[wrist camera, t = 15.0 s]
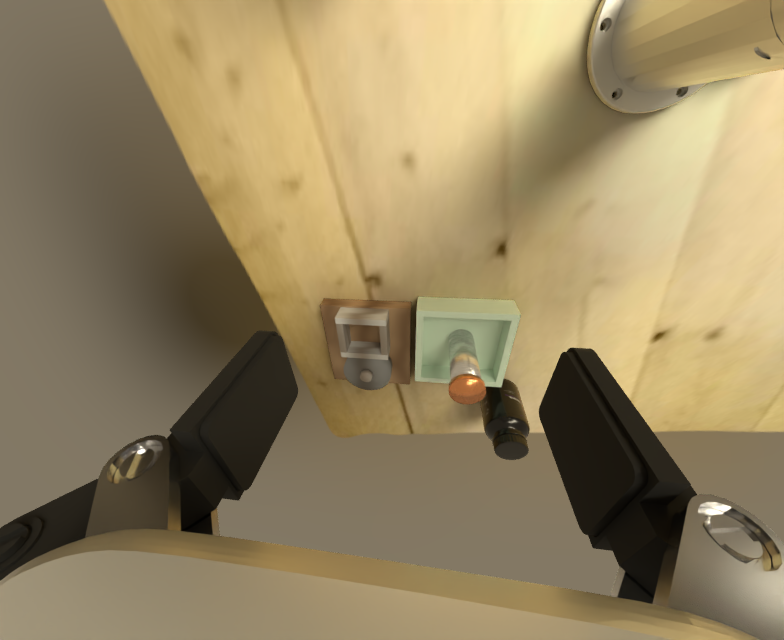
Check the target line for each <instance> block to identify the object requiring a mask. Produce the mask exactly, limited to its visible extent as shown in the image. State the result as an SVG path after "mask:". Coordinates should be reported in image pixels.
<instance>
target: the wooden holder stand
mask: <svg viewBox="0 0 784 640" xmlns="http://www.w3.org/2000/svg"><path fill="white" fill-rule="evenodd" d="M320 308H321V313H322V318H323V323H324V328H325V333H326V338H327V343H328V348H329V353H330V358H331V363H332V368H333V373H334V378H335V379H346V380H348V381H349V382H350V383H352V384H353V385H355V386H356V387H359V388H361V389H366V390H377V389H380V388H383V387H384V386H386V385H387V384H388V383H400V384H410V372H411V302H398V301H372V300H347V299H324V300H323V301H322V303H321V304H320Z"/></svg>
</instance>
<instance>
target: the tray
mask: <svg viewBox="0 0 784 640" xmlns="http://www.w3.org/2000/svg"><path fill="white" fill-rule="evenodd" d="M520 317H521V314H520V312H519V310H518V307H517V305H516V303H515V301H514V300H496V299H469V298H442V297H418V301H417V313H416V354H415V381H421V382H434V383H448V384H449V382H450V381H451V379H450V362H449V346H448V337H449V335H450V334H451V333H452V332H453V331H455V330H458V329H464V330H468V331H469V332H471V333H472V335H473V337H474V342H475V347H476V353H477V358H478V363H479V369H480V374H481V379H482V380H483V381H484V383H485V386H489V387H501V386H502V383H503V379H504V375H505V372H506V368H507V364H508V361H509V357H510V354H511V350H512V346H513V343H514V339H515V335H516V332H517V328H518V324H519V321H520Z"/></svg>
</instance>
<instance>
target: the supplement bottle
mask: <svg viewBox="0 0 784 640" xmlns="http://www.w3.org/2000/svg"><path fill="white" fill-rule="evenodd" d="M485 388H486V395H485V397H484V398H483V399H482V400H481V401H480V404H481V411H482V417H483V424H484V430H485V433H486V435H487V436H488V438H489V439H491V440H492V442H493V446H494V451H495V453H496V454H497V455H498V456H499V457H500V458H503V459H506V460H516V459H520V458H523V457H524V456H526V455H527V454H528V446H527V440H526V437H527V436H528V434H529V424H528V420H527V417H526V414H525V411H524V407H523V404H522V401H521V397H520V394H519V391H518V388H517V387H516V385H515V384H514V383H513V382H511V381H509V380H506V379H503V383H502V386H501V387H489V386H485Z"/></svg>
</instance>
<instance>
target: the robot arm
mask: <svg viewBox="0 0 784 640" xmlns="http://www.w3.org/2000/svg"><path fill="white" fill-rule="evenodd" d="M601 24H603V26H604V27H603V30H602V31H601V30H600V25H601ZM587 69H588V74H589V79H590V83H591V85H592V87H593V89H594V92H595V94H596V95H597V96H598V97H599V99H600V100H601V101H602V102H603V103H604V104H606V105H607V106H609V107H610V108H611V109H614V110H617V111H620V112H623V113H634V114H638V113H649V112H653V111H657V110H661V109H664V108H667V107H669V106H672V105H674V104H676V103H679V102H680V101H682V100H684V99H685V98H687V97H689V96H691V95H692V94H694V93H695V92H697V91H698V90H699V89H701V88H702V87H703V86H705V85H706V84H707V83H709V82H713V81H719V80H725V79H730V78H736V77H742V76H748V75H753V74H759V73H765V72H771V71H776V70H782V69H784V0H601V3H600V5H599V7H598V10H597V12H596V14H595V18H594V21H593V24H592V28H591V31H590V35H589V42H588V48H587ZM677 90H678V93H677ZM613 92H614V93H615V96H614V97H613V98H612V94H613ZM676 93H677V94H676ZM297 394H298V387H297V384H296V381H295V378H294V374H293V371H292V368H291V365H290V362H289V359H288V355H287V352H286V349H285V346H284V342H283V339H282V337H281V336H278V334H277V333H276V332H273V331H257V332H256V333H255V334H254V335H253V336H252V337H251V339H250V340H249V341H248V342H247V343H246V344H245V345H244V347H243V348H242V349H241V350H240V351H239V352H238V353H237V354H236V355H235V356H234V358H233V359H232V360H231V361H230V362H229V363H228V364H227V366H226V367H225V368H224V369H223V370H222V371H221V372H220V373H219V375H218V376H217V377H216V378H215V379H214V380H213V381H212V382H211V384H210V385H209V386H208V387H207V388H206V389H205V390H204V392H203V393H202V394H201V395H200V396H199V397H198V398H197V399H196V401H195V402H194V403H193V404H192V405H191V406H190V407H189V408H188V410H187V411H186V412H185V413H184V414H183V415H182V416H181V418H180V419H179V420H178V421H177V422H176V423H175V424H174V425H173V427H172V428H171V429H170V431H171V432H172V433H171V434H170V436H169V437H168V438H166V437H164V436H161V435H151V436H146V437H143V438H140V439H137V440H136V441H134V442H131V443H129V444H128V445H126V446H125V447H123V448H122V449H120V450H119V451H118V452H117V453H115V454H114V456H112V457H111V458H110V459H109V460H108V462H107V463H106V464H105V466H104V467H103V468H102V470H101V473H100V475H99V478H98V479H96V480H94V481H92V482H90V483H88V484H86V485H84V486H82V487H80V488H78V489H76V490H74V491H72V492H69V493H67V494H65V495H63V496H61V497H59V498H57V499H55V500H53V501H51V502H49V503H47V504H45V505H43V506H41V507H39V508H37V509H35V510H33V511H31V512H29V513H27V514H24V515H23V516H20V517H19V518H17V519H15V520H13V521H11V522H10V523H8V524H6V525H4V526H3V527H1V528H0V640H784V543H783V542H782V541H781V540H780V539H779V537H778V536H777V535H776V534H775V533H774V532H773V531H772V530H771V529H770V528H769V527H768V526H767V525H766V524H764V523H763V522H762V521H761V520H760V519H758V518H757V517H756V516H755V515H753V514H751V513H750V512H749V511H747V510H745V509H744V508H742V507H741V506H739V505H737V504H735V503H733V502H731V501H729V500H726V499H724V498H721V497H717V496H714V495H706V494H699V495H697V494H696V492H695V491H694V490H693V488H692V487H691V484H690V483H689V481H688V480H687V479H686V477H685V476H684V474H683V473H682V472H681V470H680V469H679V468H678V466H677V465H676V463H675V462H674V461H673V459H672V458H671V457H670V455H669V454H668V452H667V451H666V449H665V448H664V447H663V446H662V444H661V443H660V441H659V440H658V439H657V437H656V436H655V434H654V433H653V431H652V430H651V429H650V427H649V426H648V425H647V423H646V422H645V420H644V419H643V418H642V416H641V415H640V413H639V412H638V411H637V409H636V408H635V407H634V405H633V404H632V402H631V401H630V400H629V398H628V397H627V395H626V394H625V393H624V391H623V390H622V389H621V387H620V386H619V384H618V383H617V382H616V380H615V379H614V377H613V376H612V375H611V373H610V372H609V371H608V369H607V368H606V366H605V365H604V364H603V362H602V361H601V359H600V358H599V357H598V355H597V354H596V353H595V351H594V350H592V349H585V348H570V349H568V351H567V352H563V353H562V354H561V356H560V358H559V361H558V363H557V366H556V368H555V371H554V373H553V375H552V378H551V380H550V383H549V385H548V388H547V390H546V393H545V395H544V398H543V400H542V402H541V405H540V408H539V417H540V420H541V423H542V426H543V428H544V431H545V434H546V436H547V439H548V442H549V445H550V447H551V450H552V453H553V456H554V459H555V461H556V464H557V467H558V470H559V472H560V475H561V478H562V480H563V483H564V486H565V489H566V491H567V494H568V497H569V500H570V502H571V505H572V508H573V511H574V513H575V516H576V519H577V522H578V524H579V527H580V529H581V530H582V532H583V533H584V534H586V535H588V536H589V539H590V542H591V544H592V547H593V548H596V549H604V550H612V551H613V552H614V555H615V557H616V559H617V562H618V564H619V569H618V572H617V575H616V578H615V581H614V584H613V587H612V590H611V593H610V596H606V595H600V594H595V593H589V592H583V591H577V590H572V589H566V588H560V587H554V586H548V585H541V584H535V583H528V582H522V581H516V580H509V579H503V578H497V577H490V576H484V575H478V574H471V573H465V572H458V571H452V570H446V569H439V568H432V567H425V566H419V565H413V564H406V563H400V562H393V561H387V560H380V559H373V558H367V557H359V556H353V555H347V554H340V553H334V552H327V551H320V550H314V549H307V548H300V547H293V546H286V545H279V544H272V543H266V542H259V541H252V540H245V539H238V538H232V537H224V536H220V531H219V522H218V513H217V506H218V504H219V503H220V501H221V499H222V498H225V499H232V500H239V499H240V497H241V495H242V493H243V492H244V490H247V489H249V487H250V486H251V485H252V483H253V481H254V479H255V477H256V475H257V473H258V471H259V469H260V467H261V465H262V463H263V461H264V460H265V457H266V456H267V454H268V452H269V450H270V448H271V446H272V444H273V442H274V440H275V438H276V436H277V434H278V433H279V431H280V429H281V427H282V425H283V423H284V421H285V419H286V417H287V415H288V413H289V411H290V409H291V407H292V405H293V403H294V402H295V399H296V397H297Z"/></svg>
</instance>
